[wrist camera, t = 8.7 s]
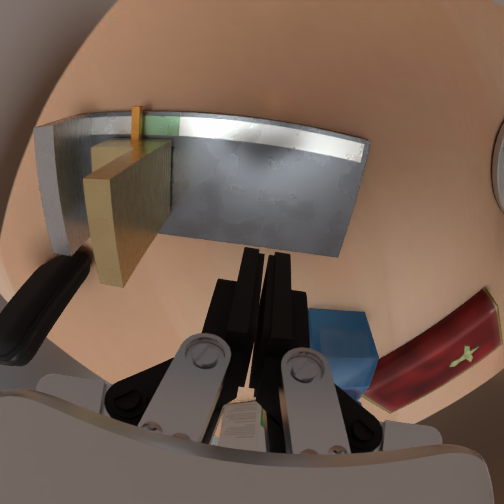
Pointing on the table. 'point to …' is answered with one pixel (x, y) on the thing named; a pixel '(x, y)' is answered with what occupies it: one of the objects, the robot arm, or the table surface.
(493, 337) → the hardcover book
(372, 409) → the table surface
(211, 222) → the gauge base
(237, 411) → the skincare box
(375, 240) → the table surface
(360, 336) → the perfume bottle
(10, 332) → the carrying case or bag
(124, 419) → the robot arm
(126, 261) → the gauge carriage
